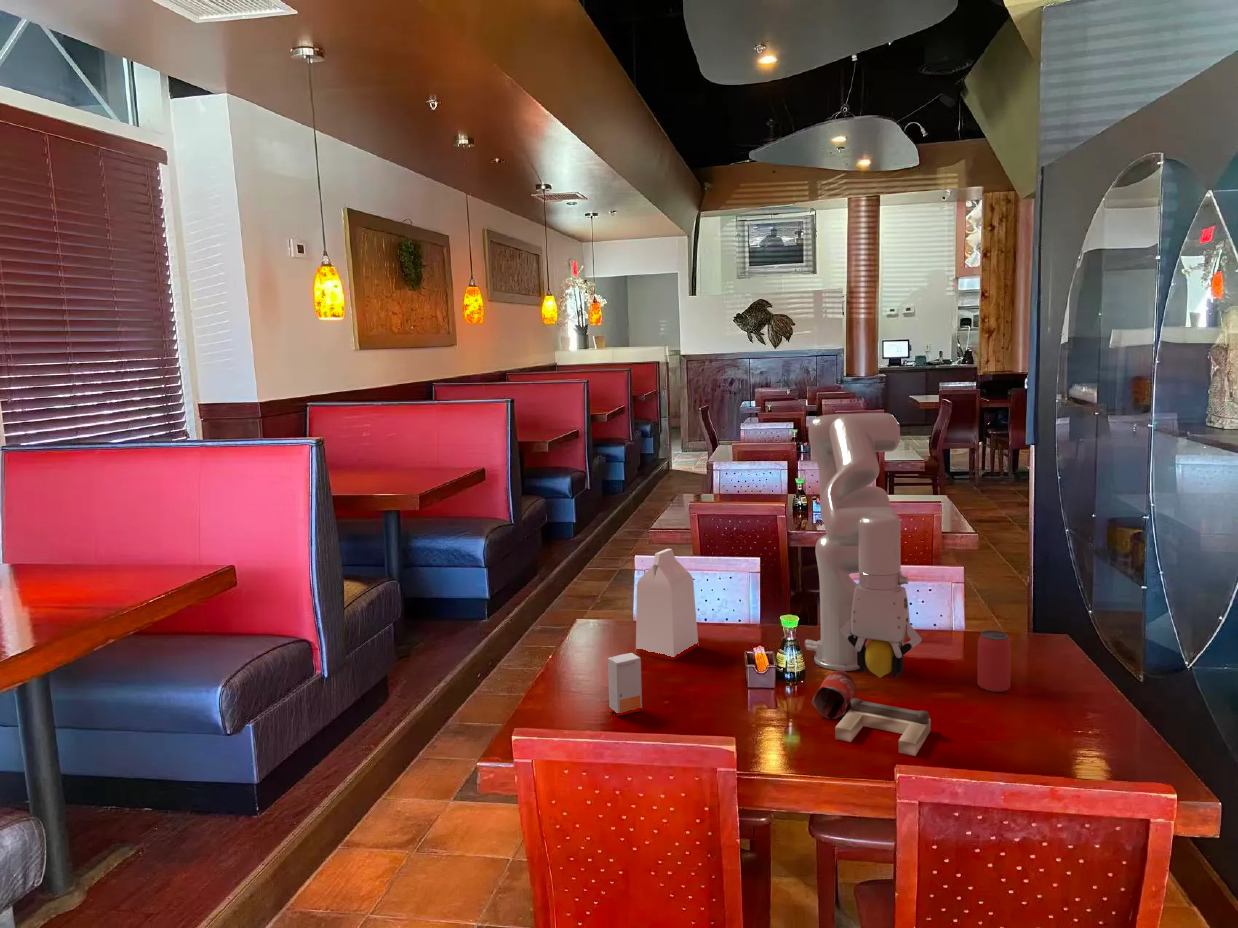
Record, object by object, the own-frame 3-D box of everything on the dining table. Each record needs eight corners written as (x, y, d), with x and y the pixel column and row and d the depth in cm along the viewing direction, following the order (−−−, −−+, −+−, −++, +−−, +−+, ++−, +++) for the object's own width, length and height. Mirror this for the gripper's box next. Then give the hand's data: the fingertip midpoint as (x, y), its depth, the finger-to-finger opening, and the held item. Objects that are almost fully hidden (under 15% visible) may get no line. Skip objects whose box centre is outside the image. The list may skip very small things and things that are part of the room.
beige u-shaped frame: (834, 738, 161) (834, 718, 161) (854, 715, 171) (853, 695, 171) (915, 756, 153) (915, 734, 152) (931, 730, 163) (931, 710, 162)
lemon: (888, 671, 162) (887, 631, 161) (900, 681, 156) (899, 640, 155) (860, 673, 161) (860, 633, 160) (871, 683, 156) (871, 642, 155)
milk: (661, 639, 223) (657, 544, 220) (698, 646, 216) (695, 548, 213) (635, 653, 213) (631, 553, 210) (673, 661, 206) (670, 558, 203)
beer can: (1013, 693, 178) (1014, 639, 177) (980, 692, 180) (981, 638, 178) (1005, 681, 185) (1006, 629, 183) (974, 680, 186) (974, 629, 185)
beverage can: (858, 699, 179) (858, 669, 178) (846, 721, 169) (846, 690, 168) (825, 694, 182) (824, 665, 182) (811, 716, 172) (811, 685, 171)
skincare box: (618, 718, 175) (615, 663, 173) (609, 711, 178) (606, 657, 177) (643, 711, 177) (641, 657, 176) (633, 704, 181) (631, 651, 180)
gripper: (931, 580, 155) (931, 673, 157) (841, 571, 164) (842, 659, 166) (922, 590, 149) (921, 687, 151) (828, 580, 158) (829, 671, 160)
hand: (880, 671), depth 159 cm, fingers closed on lemon, 5 cm apart
